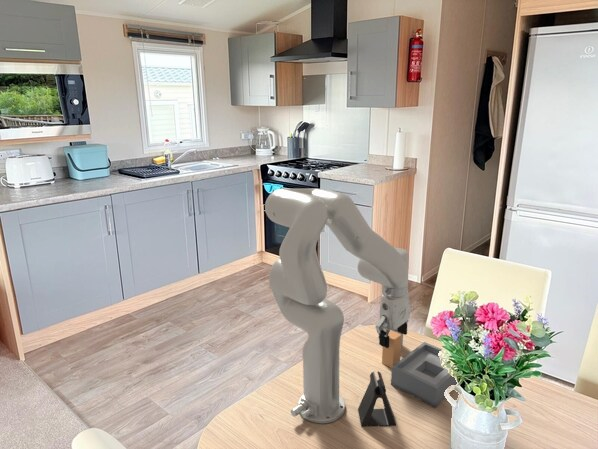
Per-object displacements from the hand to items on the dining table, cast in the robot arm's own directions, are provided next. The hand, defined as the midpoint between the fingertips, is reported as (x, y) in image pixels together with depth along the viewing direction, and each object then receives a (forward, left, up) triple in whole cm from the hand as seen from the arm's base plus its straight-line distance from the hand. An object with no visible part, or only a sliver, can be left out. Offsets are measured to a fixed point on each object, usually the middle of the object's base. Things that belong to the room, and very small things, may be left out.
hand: (393, 339), depth 133 cm
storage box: (-1, -13, -8) cm, 15 cm away
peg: (-1, 0, -8) cm, 8 cm away
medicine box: (+9, +7, -8) cm, 14 cm away
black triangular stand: (-24, -11, -8) cm, 27 cm away
